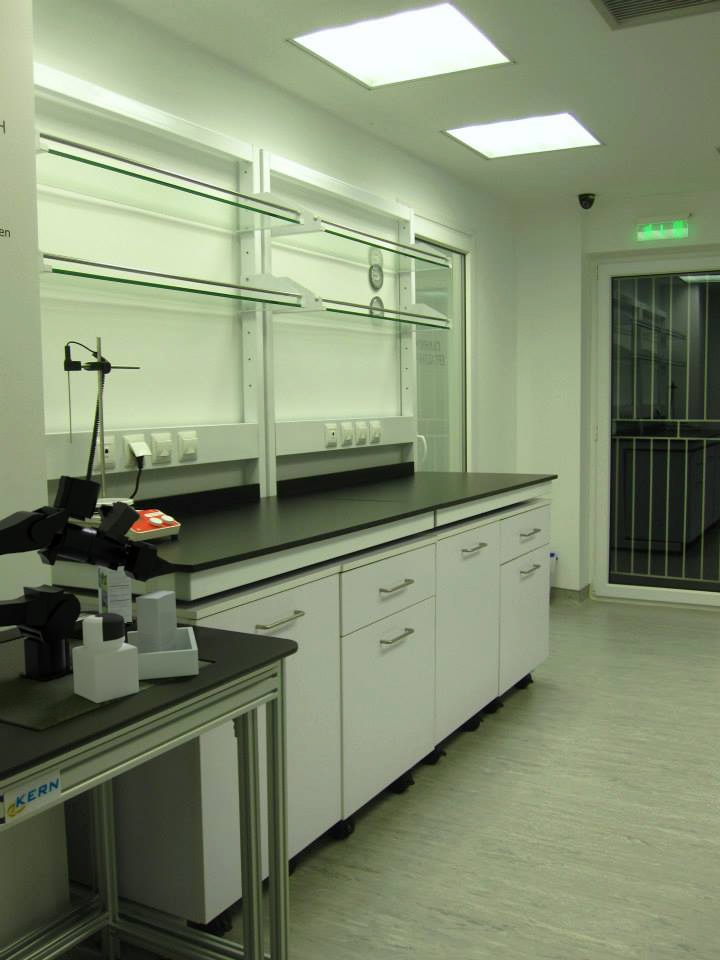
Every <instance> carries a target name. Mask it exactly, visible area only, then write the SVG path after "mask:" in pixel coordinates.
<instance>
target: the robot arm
mask: <svg viewBox="0 0 720 960" xmlns="http://www.w3.org/2000/svg"><path fill="white" fill-rule="evenodd" d="M102 487H103V484H101V483H99V482H96V481H93V480H90V479H81V478H77V477H73V476H70V475H60V477H59V481H58V488H57V492H56V494H55V499H54V502H53V505H52V506H49V505H44V506H41V507H38V508H37V509H34V510H32V511H28V510H20V511H19V510H18V511H16V512H13V513H12V514H10V515H8V516H6V517H5V518H3V519H1V520H0V556H5V555H11V554H20V553H21V554H22V553H28V552H33V551H36V554H37V555H38V556H39V558H40V561H41V563H42V564H43V565H47V566H55V565H56V561H57V556H59V557H63V558H67V559H70V560H75V561H79V562H81V563H82V562H83V563H86V564H88V565H91V566H97V567H98V566H102V567H106V568H109V569H111V570H115V571H117V569H118V567H120V566H124V569H123V570H124V572H125V574H126V576H127V577H130V578H131V580H132V579H133V580H135V581H139V582H143V583H146V582H147V581H149V580H150V579H154V578H158V577H161V576H166V575H171V574H174V573H176V571H177V566H176V565H175V564H173V563H171V562H169V561H168V560H166V559H165V558H162V557H161V556H159V555H158V548H157V547H158V546H157V545H154V544H151V543H148V542H144V541H140V540H137V541H135V542H133V543H131V545H128V543H129V538H130V537H129V536H126V535H127V533H128V532H129V531H130V530H131V529H132V527H133V525H134V524H135V523H136V522H138V520H139V519H140V517H141V513H139V512H138V511H137V510H135V509H134V508H133V507H132V506H131V505H130V504H128V503H127V502H123V501H120V500H118V501H116V502H114V501H112V505H111V504H104V503H102V504H100V506H99V508H98V509H97V510H96V507H97V504H98V501H99V497H100V493H101V490H102ZM95 511H97V513H98V515H99V518H100V520H99V522H100V523H99V525H98V527H97V526H92V525H91V526H85V525H80V524H77V523H74V522H69V520H73V521H78V522H82V523H86V519H88V520H92V518H93V517H94V513H95ZM81 605H82V604H81V602H80V600H79V598H78V597H77V596H76V595H75V594H73V593H70V592H67V591H66V589H64V588H61V587H57V586H53V585H50V584H42V585H40V586H36V587H35V586H34V587H33V586H23V595H21V596H19V597H17V598H13V599H2V600H0V628H4V627H13V626H14V627H15V626H16V630H18V633H19V635H20V636H25V637H27V638H25V639H23V651H24V653H23V654H24V669H25V670H22V671H20V672H18V676H19V677H25V678H30V679H32V680H33V679H34V680H40V681H49V680H52V679H55V678H58V677H61V676H63V675H66V674H69V673H72V672H73V665H72V666H71V656H70V654H71V653H70V652H71V650H70V641H69V640H68V639H71V638H73V633H74V630H75V627H76V626H75V625H76V623H77V620H78V619H79V617H80V614H81V611H82V607H81Z"/></svg>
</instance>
